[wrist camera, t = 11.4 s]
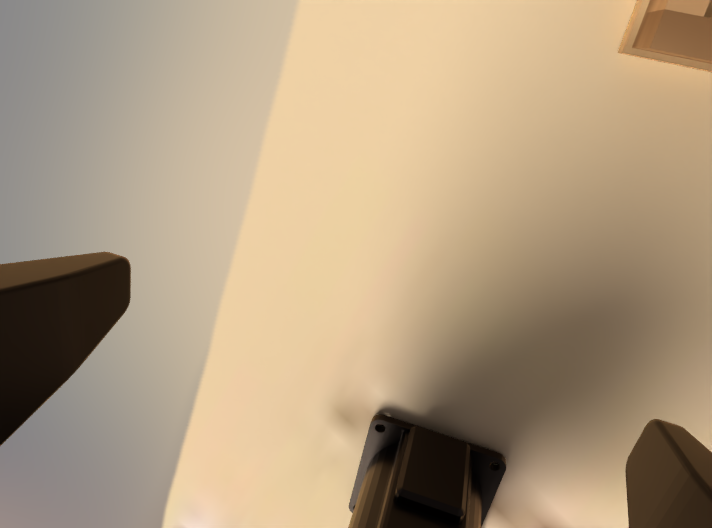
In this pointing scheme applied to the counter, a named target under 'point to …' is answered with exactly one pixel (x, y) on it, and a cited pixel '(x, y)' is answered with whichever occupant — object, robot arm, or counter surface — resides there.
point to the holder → (671, 32)
